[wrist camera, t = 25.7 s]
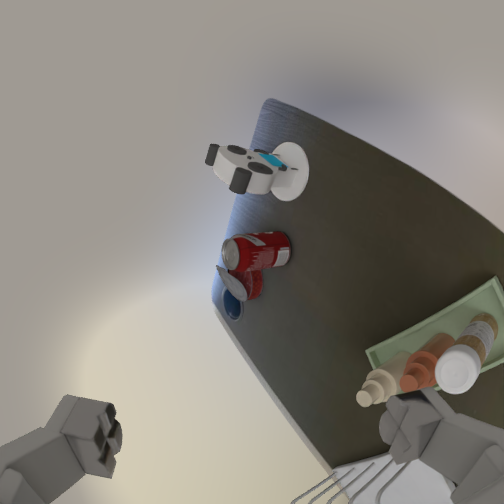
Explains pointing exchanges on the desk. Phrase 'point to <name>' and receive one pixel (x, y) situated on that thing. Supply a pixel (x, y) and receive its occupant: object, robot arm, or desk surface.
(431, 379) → the terracotta bottle
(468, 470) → the robot arm
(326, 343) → the desk surface
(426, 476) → the file sorter
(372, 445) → the desk surface
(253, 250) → the soda can
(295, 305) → the desk surface
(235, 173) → the panda figurine
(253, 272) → the canned food
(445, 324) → the tray
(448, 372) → the sprinkles bottle
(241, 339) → the desk surface
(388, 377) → the cream bottle
